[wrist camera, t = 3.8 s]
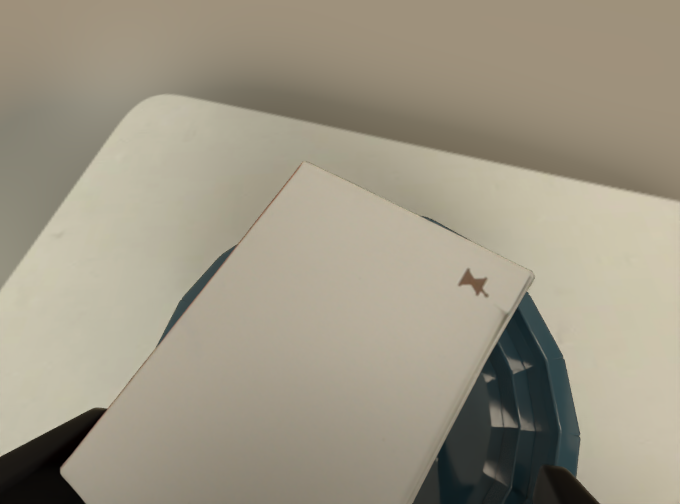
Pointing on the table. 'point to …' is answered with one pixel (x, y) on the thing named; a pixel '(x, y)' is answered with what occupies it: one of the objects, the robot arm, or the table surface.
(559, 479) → the robot arm
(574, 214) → the table surface
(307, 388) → the small box
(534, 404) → the bowl
